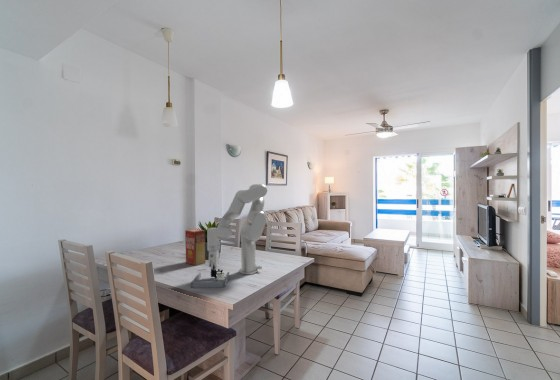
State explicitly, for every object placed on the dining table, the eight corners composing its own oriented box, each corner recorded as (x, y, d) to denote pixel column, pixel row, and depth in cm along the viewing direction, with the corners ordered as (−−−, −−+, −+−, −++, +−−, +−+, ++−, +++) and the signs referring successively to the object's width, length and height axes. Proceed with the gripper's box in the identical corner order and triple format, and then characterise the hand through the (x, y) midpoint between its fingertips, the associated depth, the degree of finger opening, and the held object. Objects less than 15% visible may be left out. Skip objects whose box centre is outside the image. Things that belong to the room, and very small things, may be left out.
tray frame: (229, 276, 166) (229, 272, 166) (224, 287, 149) (224, 281, 149) (199, 277, 165) (199, 272, 165) (191, 287, 148) (191, 282, 148)
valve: (227, 285, 152) (224, 278, 163) (227, 274, 152) (224, 268, 163) (215, 286, 150) (213, 279, 161) (215, 275, 149) (213, 269, 161)
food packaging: (184, 262, 197) (184, 230, 197) (195, 260, 204) (195, 228, 204) (195, 266, 189) (195, 231, 188) (206, 263, 196) (205, 230, 196)
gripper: (217, 250, 156) (217, 280, 156) (221, 244, 171) (221, 272, 171) (204, 250, 155) (204, 281, 156) (210, 245, 170) (210, 272, 170)
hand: (213, 276), depth 163 cm, fingers closed
